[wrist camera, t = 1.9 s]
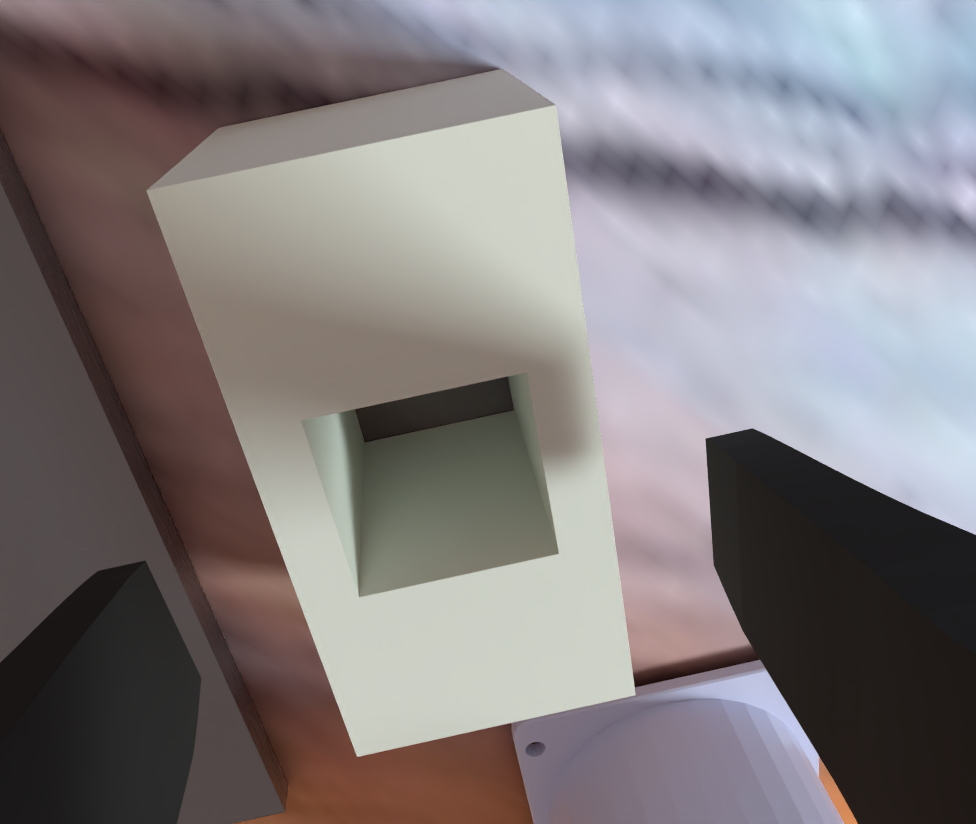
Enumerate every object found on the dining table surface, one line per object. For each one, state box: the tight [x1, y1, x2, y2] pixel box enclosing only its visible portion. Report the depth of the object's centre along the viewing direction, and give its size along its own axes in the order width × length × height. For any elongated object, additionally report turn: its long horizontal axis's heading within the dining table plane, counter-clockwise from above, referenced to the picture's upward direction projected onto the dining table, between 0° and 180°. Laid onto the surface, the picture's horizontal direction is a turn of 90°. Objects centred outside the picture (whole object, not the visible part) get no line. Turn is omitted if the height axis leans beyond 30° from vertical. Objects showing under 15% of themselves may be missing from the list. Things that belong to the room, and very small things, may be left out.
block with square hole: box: [146, 69, 636, 757], centre depth 15 cm, size 10×5×5 cm, turn 10°
